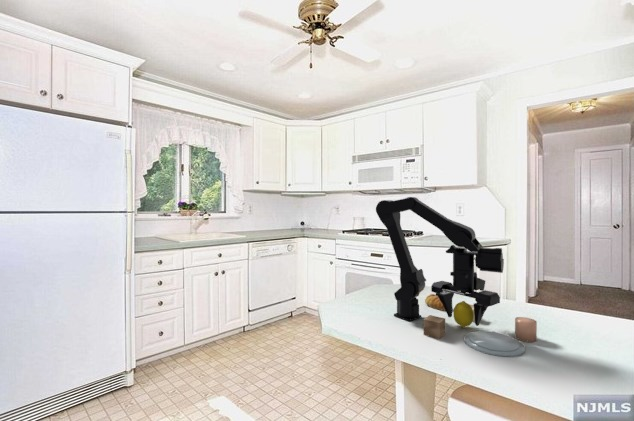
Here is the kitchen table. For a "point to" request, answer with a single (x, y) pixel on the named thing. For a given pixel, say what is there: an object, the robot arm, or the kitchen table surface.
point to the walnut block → (434, 326)
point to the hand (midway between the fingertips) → (463, 321)
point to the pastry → (434, 302)
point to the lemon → (463, 314)
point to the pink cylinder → (526, 329)
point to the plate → (494, 343)
